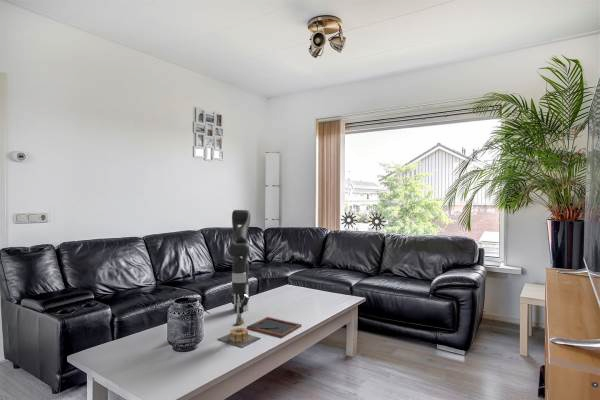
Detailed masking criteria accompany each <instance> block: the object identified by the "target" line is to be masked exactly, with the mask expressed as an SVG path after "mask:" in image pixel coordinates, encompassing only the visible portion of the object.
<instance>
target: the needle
mask: <svg viewBox="0 0 600 400" xmlns="http://www.w3.org/2000/svg"><path fill="white" fill-rule="evenodd" d="M241 318H242V314H239V302H238V299H237V313H236V319H237V322H240V321H241Z"/></svg>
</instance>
